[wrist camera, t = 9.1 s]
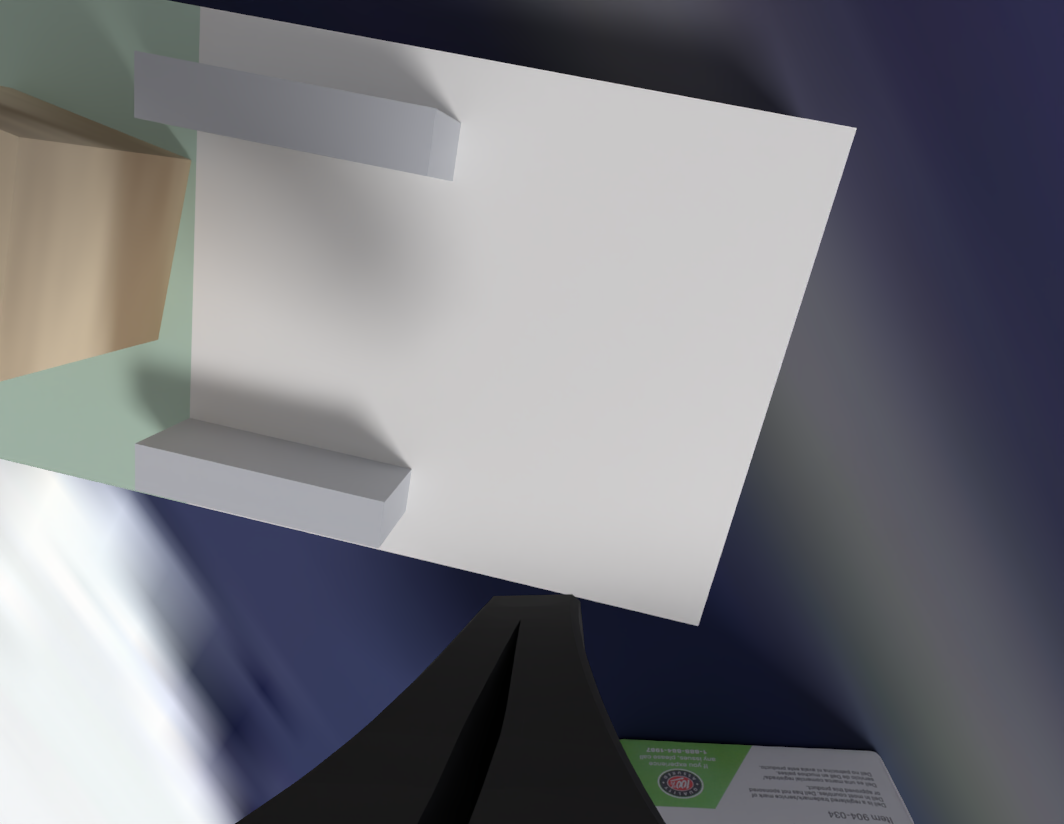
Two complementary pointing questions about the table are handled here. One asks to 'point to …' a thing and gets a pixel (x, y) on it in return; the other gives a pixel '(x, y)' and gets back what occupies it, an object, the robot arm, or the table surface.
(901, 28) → the table surface
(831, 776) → the ink box
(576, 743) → the robot arm
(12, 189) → the maple block
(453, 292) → the channel deck
